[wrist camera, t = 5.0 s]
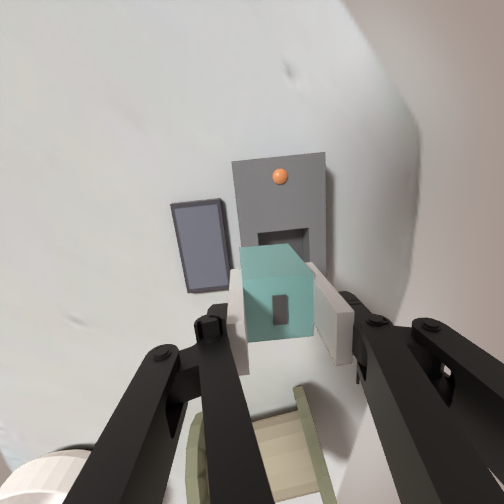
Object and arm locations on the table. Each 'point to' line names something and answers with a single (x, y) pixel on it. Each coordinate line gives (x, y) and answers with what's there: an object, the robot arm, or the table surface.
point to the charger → (276, 293)
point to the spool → (270, 456)
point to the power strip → (283, 204)
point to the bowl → (44, 478)
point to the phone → (202, 244)
